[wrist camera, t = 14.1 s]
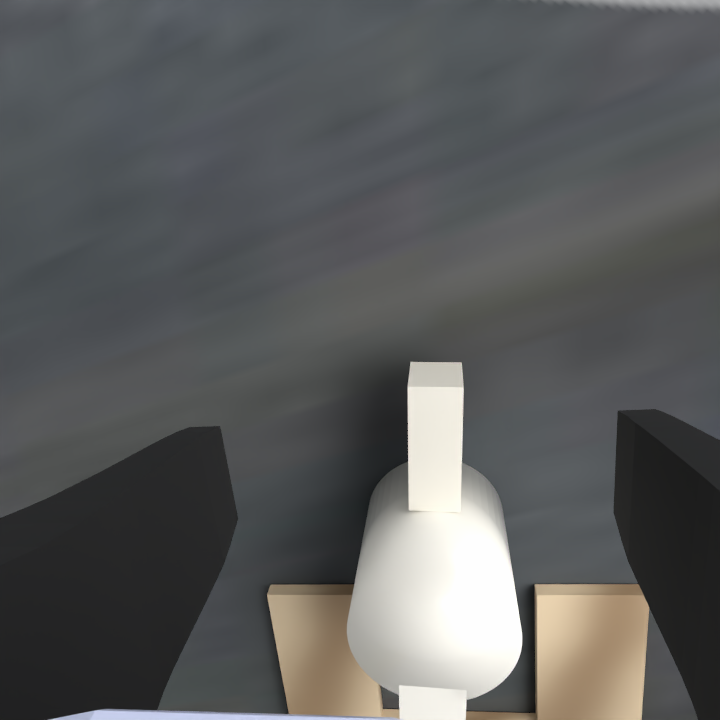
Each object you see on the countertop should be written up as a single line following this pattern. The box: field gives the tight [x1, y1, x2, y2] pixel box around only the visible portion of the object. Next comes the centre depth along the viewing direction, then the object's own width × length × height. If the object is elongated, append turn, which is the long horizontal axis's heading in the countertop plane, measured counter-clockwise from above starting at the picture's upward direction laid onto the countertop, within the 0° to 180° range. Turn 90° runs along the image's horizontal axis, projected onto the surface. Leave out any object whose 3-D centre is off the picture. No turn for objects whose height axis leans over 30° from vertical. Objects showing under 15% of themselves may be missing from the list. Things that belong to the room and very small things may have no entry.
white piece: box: [347, 362, 522, 720], centre depth 21 cm, size 10×5×6 cm, turn 2°
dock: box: [267, 584, 649, 720], centre depth 26 cm, size 14×10×1 cm
